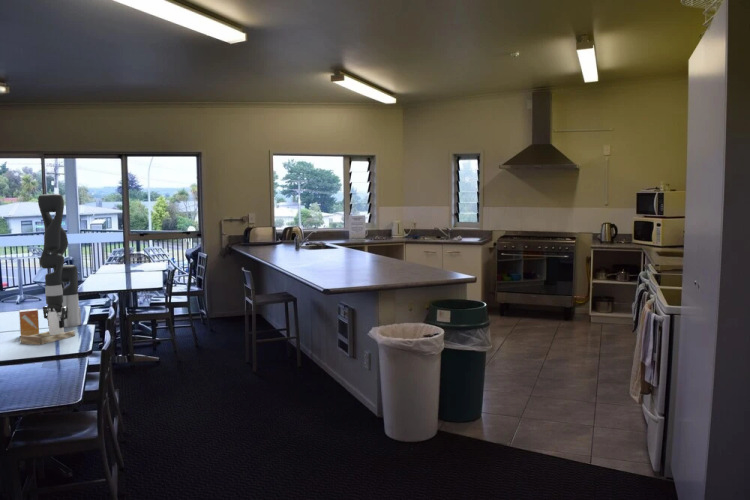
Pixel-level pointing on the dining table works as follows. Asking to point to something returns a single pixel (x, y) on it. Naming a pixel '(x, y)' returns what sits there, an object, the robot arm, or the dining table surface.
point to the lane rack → (44, 337)
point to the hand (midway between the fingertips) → (56, 327)
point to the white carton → (54, 323)
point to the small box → (29, 322)
